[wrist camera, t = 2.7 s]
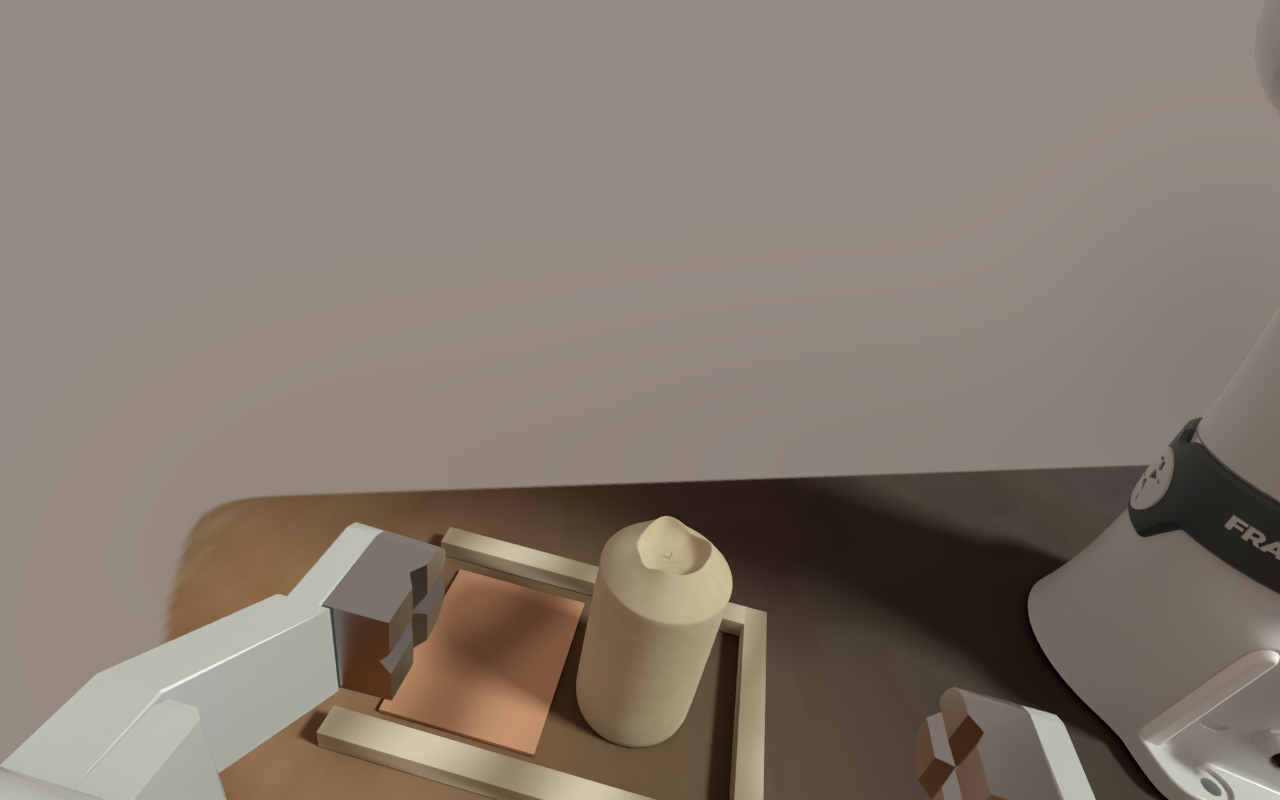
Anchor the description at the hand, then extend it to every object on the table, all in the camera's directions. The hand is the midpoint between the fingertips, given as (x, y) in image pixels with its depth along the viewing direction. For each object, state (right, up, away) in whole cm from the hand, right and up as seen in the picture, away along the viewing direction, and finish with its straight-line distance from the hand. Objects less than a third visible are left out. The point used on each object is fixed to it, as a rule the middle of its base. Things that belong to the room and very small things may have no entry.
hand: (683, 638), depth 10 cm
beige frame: (-4, -9, +21) cm, 23 cm away
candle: (-1, -10, +21) cm, 23 cm away
